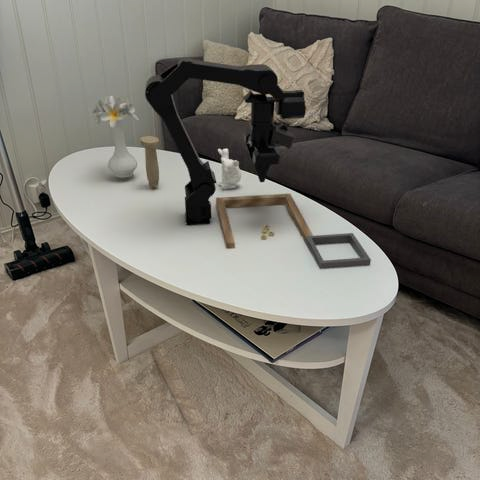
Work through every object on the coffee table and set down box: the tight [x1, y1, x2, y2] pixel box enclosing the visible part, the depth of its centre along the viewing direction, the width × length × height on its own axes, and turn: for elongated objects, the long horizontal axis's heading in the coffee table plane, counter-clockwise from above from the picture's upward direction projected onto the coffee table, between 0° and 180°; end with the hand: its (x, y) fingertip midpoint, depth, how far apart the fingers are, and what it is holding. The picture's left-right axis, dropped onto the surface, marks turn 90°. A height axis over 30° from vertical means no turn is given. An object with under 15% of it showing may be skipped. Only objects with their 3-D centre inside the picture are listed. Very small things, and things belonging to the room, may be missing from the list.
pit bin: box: [305, 232, 372, 269], centre depth 113 cm, size 12×12×3 cm
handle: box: [140, 135, 160, 188], centre depth 144 cm, size 5×6×15 cm
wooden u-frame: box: [215, 193, 314, 249], centre depth 127 cm, size 22×25×2 cm
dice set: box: [260, 225, 275, 241], centre depth 122 cm, size 5×5×2 cm
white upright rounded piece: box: [217, 148, 242, 190], centre depth 144 cm, size 8×7×12 cm
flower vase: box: [92, 95, 140, 179], centre depth 149 cm, size 13×18×25 cm
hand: (259, 176), depth 125 cm, fingers open, 6 cm apart
